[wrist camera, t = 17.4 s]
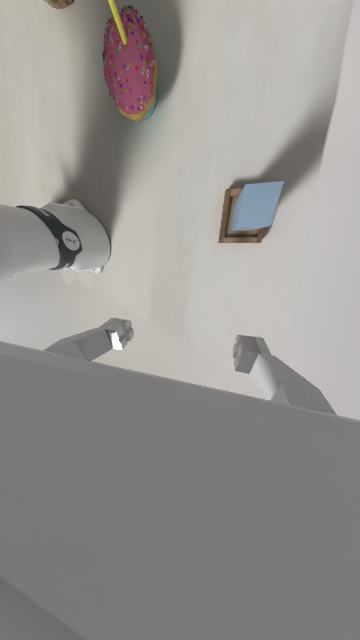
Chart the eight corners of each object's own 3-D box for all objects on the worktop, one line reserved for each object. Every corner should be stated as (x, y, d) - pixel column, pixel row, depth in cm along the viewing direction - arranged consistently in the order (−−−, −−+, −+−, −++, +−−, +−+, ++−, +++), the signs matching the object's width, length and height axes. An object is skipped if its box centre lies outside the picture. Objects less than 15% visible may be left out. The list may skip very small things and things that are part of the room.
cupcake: (134, 33, 20) (57, -161, 10) (176, 82, 22) (142, -48, 12) (117, 113, 25) (52, 30, 15) (152, 149, 26) (113, 95, 17)
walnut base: (218, 242, 32) (218, 242, 30) (225, 193, 27) (225, 189, 25) (257, 242, 30) (261, 242, 28) (272, 189, 25) (277, 185, 23)
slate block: (230, 231, 29) (237, 226, 19) (234, 204, 27) (245, 184, 17) (251, 230, 28) (270, 225, 18) (258, 203, 26) (284, 180, 16)
